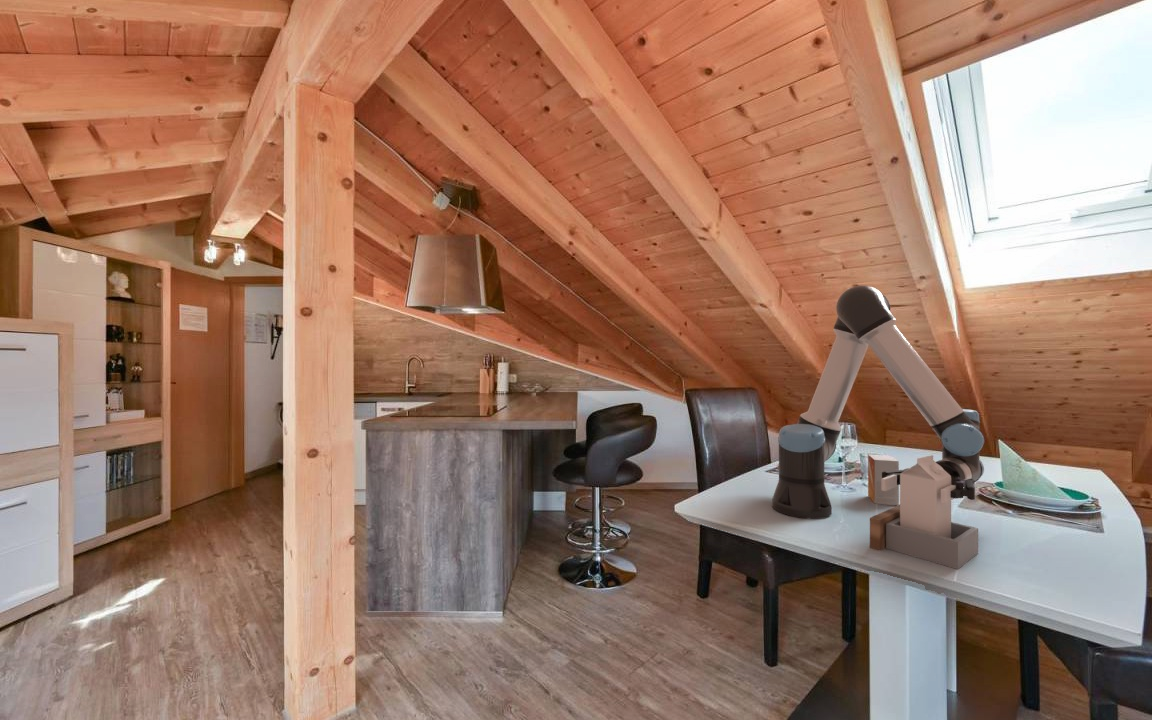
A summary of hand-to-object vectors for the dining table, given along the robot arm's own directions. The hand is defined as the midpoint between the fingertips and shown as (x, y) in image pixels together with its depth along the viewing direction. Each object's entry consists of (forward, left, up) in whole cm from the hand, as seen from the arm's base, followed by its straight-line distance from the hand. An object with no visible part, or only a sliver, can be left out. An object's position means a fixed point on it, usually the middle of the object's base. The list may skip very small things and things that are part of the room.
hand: (911, 490), depth 104 cm
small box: (+7, +41, -14) cm, 44 cm away
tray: (+4, +2, -13) cm, 14 cm away
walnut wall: (-2, +7, -14) cm, 15 cm away
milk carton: (+4, +3, -12) cm, 13 cm away
